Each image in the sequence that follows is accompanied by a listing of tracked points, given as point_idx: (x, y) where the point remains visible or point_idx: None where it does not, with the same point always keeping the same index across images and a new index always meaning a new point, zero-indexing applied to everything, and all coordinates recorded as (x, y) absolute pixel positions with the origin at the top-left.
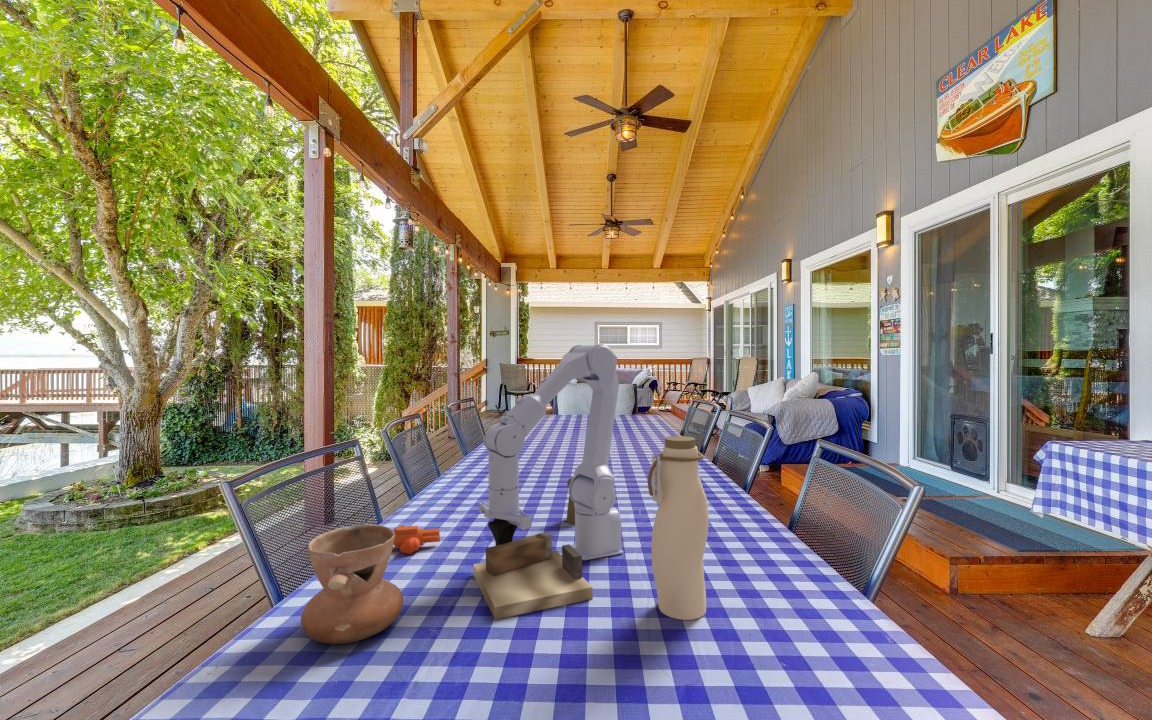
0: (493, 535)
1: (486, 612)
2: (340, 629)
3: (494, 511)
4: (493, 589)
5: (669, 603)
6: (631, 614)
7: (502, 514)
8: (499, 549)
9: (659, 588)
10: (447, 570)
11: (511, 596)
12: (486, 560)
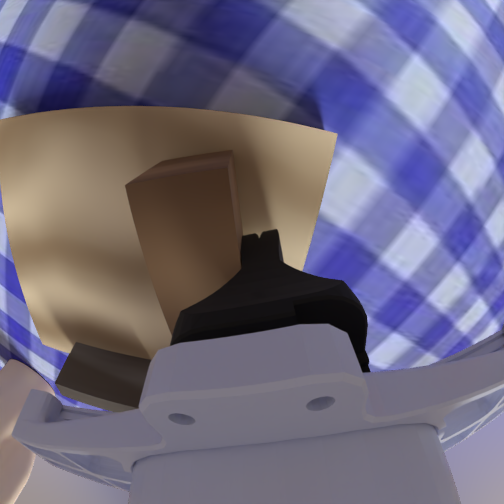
0: (291, 269)
1: (52, 98)
2: None
3: (193, 482)
4: (73, 132)
5: (2, 370)
6: (13, 336)
7: (128, 462)
8: (166, 236)
9: (5, 383)
10: (407, 81)
11: (24, 175)
12: (223, 157)
